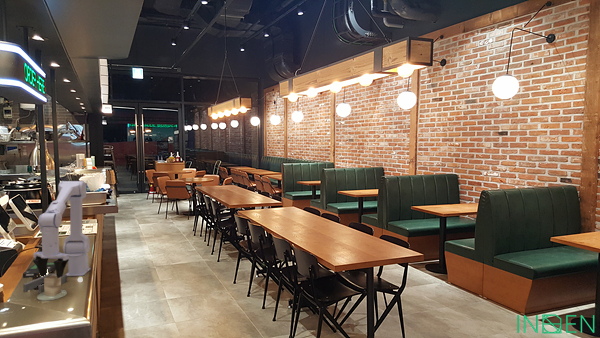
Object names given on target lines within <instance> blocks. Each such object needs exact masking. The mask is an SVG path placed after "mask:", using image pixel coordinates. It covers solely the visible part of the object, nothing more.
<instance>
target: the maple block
mask: <svg viewBox="0 0 600 338" xmlns="http://www.w3.org/2000/svg"><path fill="white" fill-rule="evenodd" d="M44 290H45V295H47V296H55V295H57V294H59V293H61V290H62V284H61V277H60V278H57V275H51V276H48V277H46V278H44Z"/></svg>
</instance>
